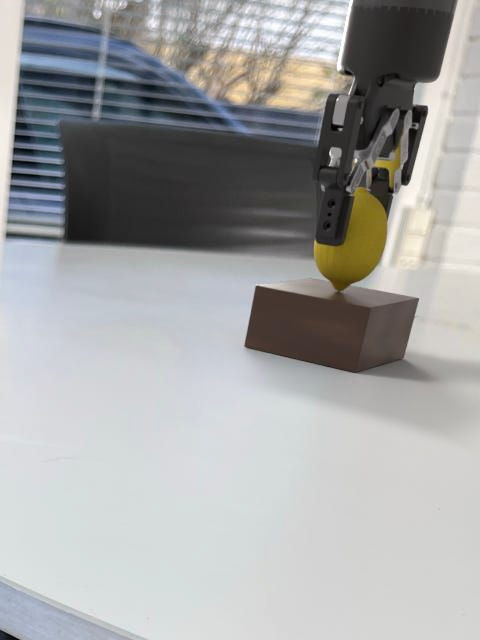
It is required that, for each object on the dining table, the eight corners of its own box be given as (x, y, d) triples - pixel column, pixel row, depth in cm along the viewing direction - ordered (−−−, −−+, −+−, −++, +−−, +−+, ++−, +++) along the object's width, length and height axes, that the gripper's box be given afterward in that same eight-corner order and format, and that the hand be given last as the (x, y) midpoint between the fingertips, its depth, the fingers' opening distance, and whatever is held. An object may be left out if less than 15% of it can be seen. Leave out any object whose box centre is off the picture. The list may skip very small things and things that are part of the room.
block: (297, 335, 96) (309, 277, 94) (404, 358, 90) (419, 298, 88) (243, 346, 89) (255, 285, 87) (355, 372, 83) (370, 307, 81)
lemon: (362, 300, 84) (387, 191, 80) (295, 289, 87) (317, 183, 83) (381, 293, 88) (406, 190, 85) (316, 283, 91) (338, 182, 87)
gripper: (414, -5, 71) (355, 255, 79) (485, 19, 81) (427, 247, 89) (312, -7, 75) (265, 239, 83) (391, 15, 85) (343, 233, 93)
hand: (349, 242), depth 86 cm, fingers open, 7 cm apart
